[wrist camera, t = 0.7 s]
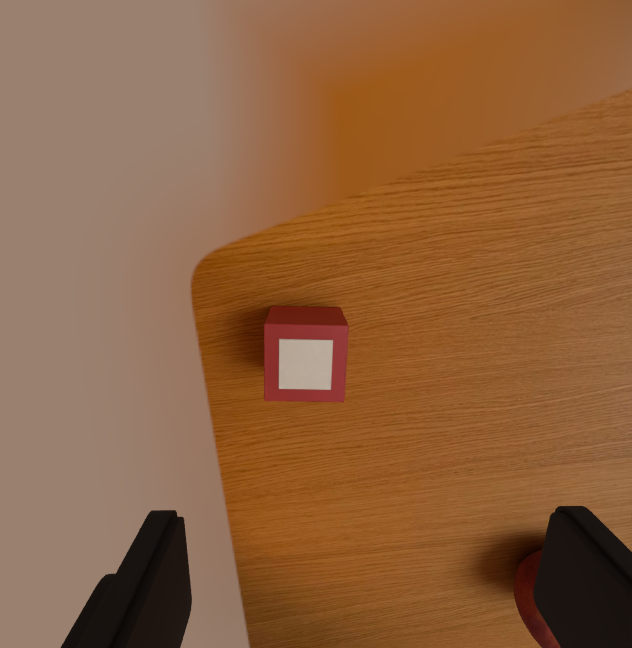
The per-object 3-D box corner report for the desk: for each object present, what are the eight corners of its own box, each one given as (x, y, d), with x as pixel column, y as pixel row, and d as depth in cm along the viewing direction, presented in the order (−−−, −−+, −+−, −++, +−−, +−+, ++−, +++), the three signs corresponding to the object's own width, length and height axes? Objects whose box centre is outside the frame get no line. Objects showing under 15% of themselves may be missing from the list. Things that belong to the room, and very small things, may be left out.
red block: (271, 305, 26) (263, 324, 21) (340, 307, 26) (349, 326, 21) (271, 370, 27) (264, 401, 22) (337, 371, 27) (344, 403, 22)
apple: (542, 514, 31) (620, 608, 24) (596, 557, 33) (685, 659, 25) (480, 566, 33) (535, 671, 25) (535, 605, 34) (602, 716, 26)
